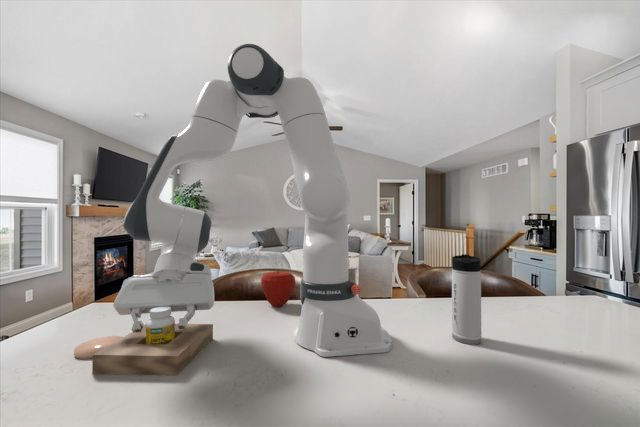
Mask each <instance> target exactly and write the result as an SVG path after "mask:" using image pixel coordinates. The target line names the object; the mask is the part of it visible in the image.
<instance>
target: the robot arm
mask: <svg viewBox="0 0 640 427" xmlns="http://www.w3.org/2000/svg"><path fill="white" fill-rule="evenodd" d="M227 73H228V77H229V80H228V81H226V80H222V79H212V80H208V82H206V83H205V85H204V86H203V88H202V90H201V92H200V94H199V96H198V98H197V99H196V100H197V101H196V103H195V106H194V108H193V110H192V111H193V112H192V114H191V118H190V120H189V123H188V125H187V126H186V127H185V129H184V130H183V131H181V132H180V133H177V134H172V135H171V136H170V137H168V139H167V140H166V141H165V143H164V145H163V147H162V149H161V150H160V152H159V153H158V156H157V157H156V159H155V161H154V163H153V165H152V167H151V169H150V170H149V172H148V174H147V177H146V178H145V180H144V182H143V184H142V187H140V190H139V192H138V193H137V195H136V197H135V199H134V200H133V202H131V203H130V206H129V207H128V209H127V210H126V213H125V215H124V218H123V228H124V230H125V232H126V233H127V234H128V235H129V236H130V238H132V239H133V240H134V241H141V242H142V241H144V242H145V241H146V242H155V243H156V242H157V243H162V244H161V246H160V254H159V256H158V258H157V260H156V263H155V266H154V269H153V272H152V274H144V275H143V274H141V275H139V274H136V275H135V274H134V275H132V276H131V277H128V278H126V279H124V280H123V282H122V285H121V286H120V287H121V288H120V290H119V292H118V293H117V296H116V297H115V299H114V302H113V309H114V310H115V312H117V314H118V315H120V316H125V315H129V316H131V318H132V320H133V324H132V327H131V331H132V332H133V333H135V332H142V328H143V326H144V325H145V324H144V323H143V321H142V320H139V319H140V318H141V317H142V315H143V314H150V310H151V309H153V308H156V307H162V306H169V307H171V313H172V312H173V313H175V312H177V313H178V312H186V314H185V315H184V317H181V318H180V317H179V319H178V323H177V324H178V328H179V329H186V328H187V324H189V323H188V322H190V321H191V319H192V318H193V317H194V316H195V314H196V311H206V310H207V311H208V310H210V309H212V308H213V307H214V306H215V287H214V283H213V277H212V276H213V275H212V271H211V268H210V266H209V265H208V264H205V263H202V262H197V261H195V260H196V257H197V255H198V253H200V252H202V251H203V250H204V249H206V247H207V246H208V245H209V241H210V236H211V235H210V234H211V229H212V228H211V227H212V223H213V222H212V219H211V217H210V216H209V215H208V213H207V212H206V211H204V210H201V209H197V208H193V207H189V206H182V205H179V204H175V203H171V202H166V201H163V200H161V199H160V195H161V194H162V192H163V190H164V188H165V186H166V183H167V182H168V179H169V178H170V176H171V174H172V172H173V171H174V169H175V168H177V167H178V166H180V165H184V164H187V163H200V162H214V161H218V160H221V159H223V158H225V157H227V156H228V155H229V154H230V153H231V151H232V149H233V147H234V145H235V141H236V138H237V137H238V136H237V135H238V131H239V129H240V124H241V121H242V119H243V117H244V116H246V117H248V118H250V119H254V118H260V119H272V118H275V117H277V116H278V117H279V121H280V123H281V127H282V130H283V135H284V137H285V141H286V145H287V148H288V152H289V155H290V160H291V165H292V170H293V175H294V179H295V183H296V189H297V193H298V196H299V200H300V205H301V208H302V209H303V211H304V230H303V231H304V232H303V233H304V234H303V244H302V278H301V280H300V286H299V288H300V296H299V297H300V299H299V300H300V303H301V312H300V318H299V324H298V329H297V332H296V335H295V342H296V343H297V344H298V345H299V346H301V347H303V348H305V349H307V350H310V351H312V352H315V354H317V355H318V356H321V357H323V358H324V357H325V358H326V357H327V358H328V357H341V356H342V357H343V356H354V355H366V354H367V355H368V354H379V353H388V352H390V350H392V346H393V344H392V338H391V335H390V333H389V332H388V331H387V330H386V329H385V328H384V327H382V324H381V320H380V316H379V315H378V313H377V311H376V309H374V307H372V306H371V305H370V304H368V303H367V302H366V301H364V300H363V299H362V298H361V297H360V296H358V295H359V294H361V287H360V285H358V284H357V282H355V281H354V280H352V279H350V278H349V231H348V230H349V228H348V227H349V223H348V221H349V219H348V208H349V205H350V201H351V200H350V199H351V197H350V189H349V187H348V184H347V180H346V177H345V174H344V171H343V168H342V165H341V162H340V159H339V156H338V153H337V150H336V147H335V146H336V145H335V144H334V140H333V136H332V132H331V130H330V126H329V122H328V118H327V115H326V111H325V108H324V105H323V104H322V101H321V98H320V96H319V94H318V92H317V90H316V88H315V85H314V83H312V81H310V80H309V79H307V78H306V77H303V76H295V77H291V78H288V77H286V76H285V70H284V68H283V67H282V66H281V65H280V64H279V63H278V62H277V61H276V60H275V59H274V58H273V57H272V56H271V54H269V53H268V52H267V51H266V50H265V49H264V48H262V46H259V45H257V44H255V43H254V44H253V43H245V44H242V45H239V46H237V47H236V48H234V49H233V51H232V52H231V53H230V55H229V58H228V60H227Z"/></svg>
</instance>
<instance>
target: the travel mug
mask: <svg viewBox="0 0 640 427" xmlns="http://www.w3.org/2000/svg"><path fill="white" fill-rule="evenodd" d="M481 267H482V266H481V257H477V256H473V255H470V254H467V253H466V254H465V253H464V254H463V253H461V255H454V256H452V257H451V325H452V328H451V329H452V330H451V331H452V333H451V335H452V339H454V340H455V341H457V342H459V343H462V344H464V345H472V344H474V345H479V344H481V343H482V278H481V277H482V274H481V273H482V270H481Z"/></svg>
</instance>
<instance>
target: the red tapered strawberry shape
mask: <svg viewBox="0 0 640 427" xmlns="http://www.w3.org/2000/svg"><path fill="white" fill-rule="evenodd" d="M260 279H261V281H260V282H261V284H260V285H261V287H262V291H263V294H264V297H265V298H266V301H267V302H268V304H270V305H271V306H272V307H275V308H282V307H283V306H284V305H286V304H288V301H289V300H290V298H291V296H292V294H293V291H294V289H295V286H296V277H295V276H294V275H293V273H291V272H288V271H287V272H286V271H280V270H279V269H278V270H277V271H271V272H266V273H264V274H263V275H262V277H261V278H260Z"/></svg>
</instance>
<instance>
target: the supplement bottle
mask: <svg viewBox="0 0 640 427" xmlns="http://www.w3.org/2000/svg"><path fill="white" fill-rule="evenodd" d="M149 318H150V319H148V320H147V322H146V344H168V343H170V342H171V341H172V340H173V339H175V324H176V322H175V321H176V319H175V317H173V316H172V312H171V307H169V306H162V307H156V308H153V309H151V310H150V313H149Z"/></svg>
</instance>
